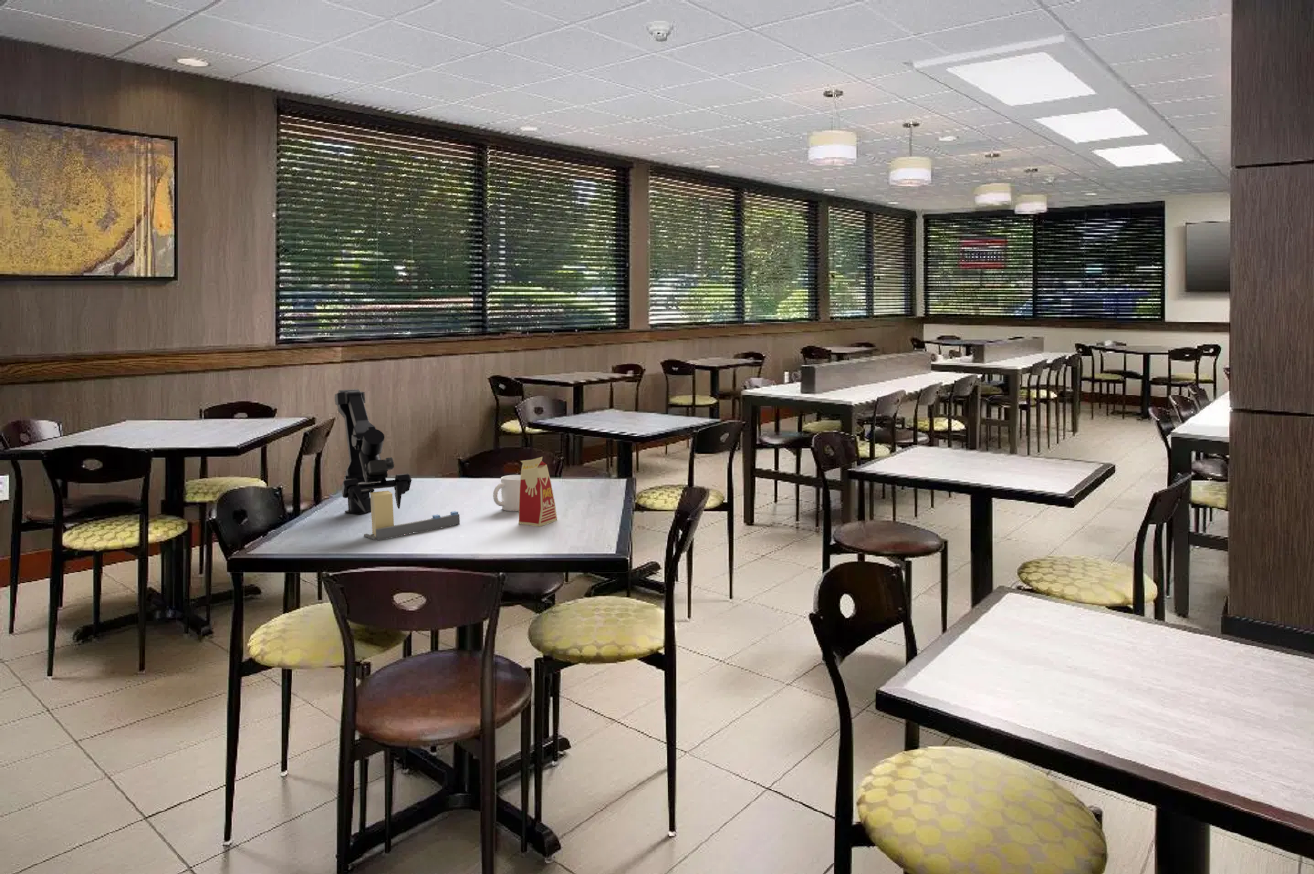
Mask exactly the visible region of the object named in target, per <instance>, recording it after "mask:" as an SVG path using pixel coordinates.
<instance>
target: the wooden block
mask: <svg viewBox="0 0 1314 874" xmlns="http://www.w3.org/2000/svg"><path fill="white" fill-rule="evenodd" d="M370 498H371V511H370V512H371V516H370V517H371V533H373V534H374V535H375V536H376V529H379V528H384V527H389V526H395V523H394V522H395V521H394V503H393V502H394V501H393V500H394V497H393V493H392V492H391V491H389V490H381V491H374V492H370ZM373 534H372V535H373ZM374 535H373V536H374ZM375 536H374V537H375Z"/></svg>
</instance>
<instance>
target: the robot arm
mask: <svg viewBox="0 0 1314 874" xmlns="http://www.w3.org/2000/svg"><path fill="white" fill-rule="evenodd" d="M334 403H335V405H336V406H337V412H339V415H341V416H342V417H343V419H344V427H345V437H346V444H347V452H348V453H347V454H348V462H349V464H348V466H347V468H346V469H345V474H344V477H343V481H342V486H341V495H342V498H344V499H347V508H348V509H347V510H344V513H345V514H353V515H363V514H365V513H369V512H371V498H370V492H375V490H378V489H387V488H393V489H394V496H395V498H394V499H395V503H396V508H398V509H400V508H401V501H402V495H404V494H406V492H408V491H410V489H411V488H410V487H411V484H412V480H413V479H412V477H411V475H410V474H409V473H399V474H395V477H394V479H390V480H389V479H388V480H387V478H388V471H390V470H393V469H394V468H395V463H394V460H393V457H391V456H390V457H386V458H385V459H382V458H381V457H382V456H381V454H382V451H383V447H384V442H385V434H384V433H383V431H382V430H379V429H377V428H376V426H375V425H374V424H372V423H371V422H370V420H369V416H368V412H367V409H366V406H365V404H366V393H365V391H360V390H359V388H357V389H356V388H355V389H339V390H338V391H337V393H335V394H334Z"/></svg>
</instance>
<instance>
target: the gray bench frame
mask: <svg viewBox="0 0 1314 874" xmlns="http://www.w3.org/2000/svg"><path fill="white" fill-rule="evenodd" d="M460 519H461V518H460V514H459V511H456V510H454V511H450V514H448V515H442V516H441V515H440V514H433V515H432V518H427V519H423V520H422V519H421V520H418V521H417V520H416V521H412V522H406V523H401V524H394V526H389V527H384V528H379V529H376V537H375V536H374V535H373V534H368V533H364V534H363V537H364V538H367V537H368V539H370V538H371V540H373V541H382V539H383V540H386V538H388V539H391V537H393V538H397V537H396V536H398V537H401V535H403V536H405V535H404V534H408V535H410V534H409V533H413V532H418V533H424V532H427V530H428V531H432V530H431V529H433V530H437V529H436V528H438V529H441V527H443V528H447V527H446V526H448V527H451V526H450V525H453V526H456V525H455V524H459V525H460V523H461V520H460ZM413 534H414V533H413Z"/></svg>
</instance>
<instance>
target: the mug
mask: <svg viewBox="0 0 1314 874" xmlns="http://www.w3.org/2000/svg"><path fill="white" fill-rule="evenodd" d="M520 479H521V474H509V475H504V476H501V477H500V483H498V484H497V485H496V486H495V487H494V490H493V494H492V497H493V502H494V503H495V504H496V505H497V506H498V507H501V508H502V510H503V511H506V512H519V494H520ZM499 491H501V493H500V494H501V501H500V500H499V499H498V494H499V493H498V492H499Z"/></svg>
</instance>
